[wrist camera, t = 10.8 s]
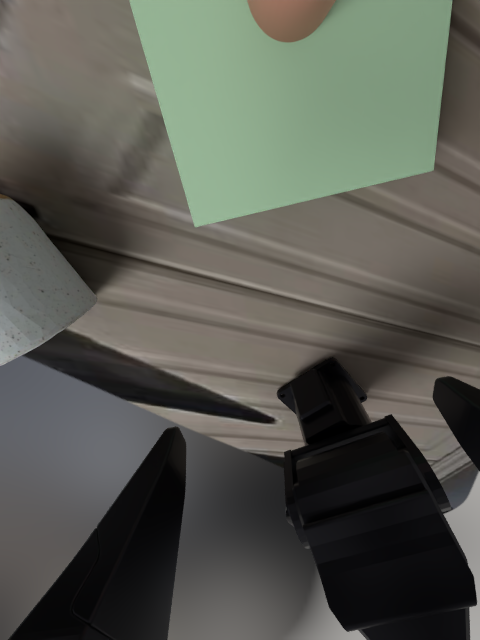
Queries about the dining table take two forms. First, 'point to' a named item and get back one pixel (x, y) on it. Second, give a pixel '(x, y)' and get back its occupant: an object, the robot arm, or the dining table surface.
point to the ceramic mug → (34, 285)
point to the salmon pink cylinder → (289, 17)
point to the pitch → (294, 99)
